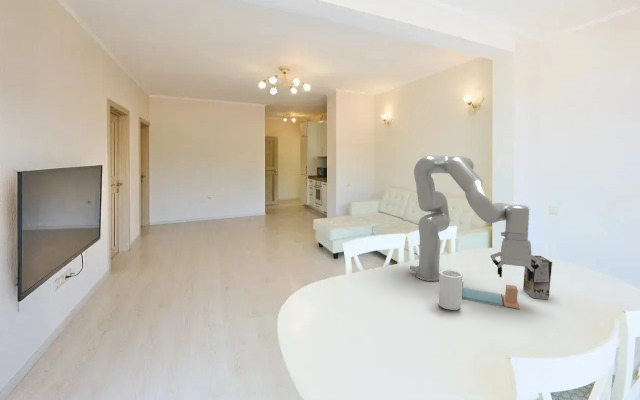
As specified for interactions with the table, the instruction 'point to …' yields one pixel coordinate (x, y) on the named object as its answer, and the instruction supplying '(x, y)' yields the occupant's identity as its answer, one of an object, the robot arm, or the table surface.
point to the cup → (450, 289)
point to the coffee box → (538, 279)
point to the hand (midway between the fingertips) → (514, 278)
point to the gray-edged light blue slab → (482, 296)
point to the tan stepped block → (511, 297)
